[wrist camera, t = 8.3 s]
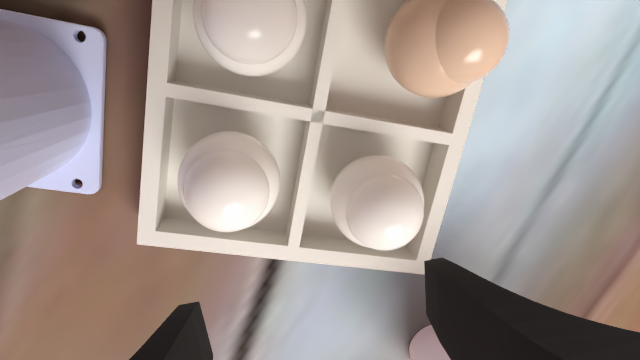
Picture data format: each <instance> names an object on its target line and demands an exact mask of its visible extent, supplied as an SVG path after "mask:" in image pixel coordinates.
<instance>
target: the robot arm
mask: <svg viewBox="0 0 640 360" xmlns="http://www.w3.org/2000/svg"><path fill="white" fill-rule="evenodd" d="M80 31H83V32H84V33H85V35H86V39H85V41H84V42H80V41H79V39H78V37H77V35H78V32H80ZM106 45H107V40H106V36H105V34H104V33H103V32H102V31H101V30H100V29H98V28H95V27H90V26H85V25H80V24H75V23H70V22H65V21H60V20H54V19H49V18H44V17H39V16H34V15H29V14H24V13H19V12H13V11H8V10H3V9H0V200H2V199H4V198H5V197H7V196H9V195H11V194H13V193H15V192H17V191H19V190H21V189H22V188H24V187H34V188H42V189H50V190H58V191H66V192H74V193H82V194H94V193H96V192H97V191H98V190H99V189H100V188H101V185H102V159H103V130H104V102H105V73H106ZM75 179H79V180H81V181H82V183H83V186H78V185H77V184H76V182H75ZM424 267H425V290H426V312H427V316H428V318H429V321H430V323H431V325H432V327H433V329H434V331H435V333H436V336H437V338H438V340H439V342H440V343H441V345H442V347H443V348H444V350H445V351H446V353H447V355H448V356H449V358H450V359H451V360H640V333H639V332H635V331H630V330H625V329H621V328H617V327H613V326H609V325H605V324H601V323H598V322H594V321H591V320H587V319H584V318H580V317H577V316H574V315H571V314H567V313H564V312H562V311H559V310H556V309H553V308H550V307H548V306H545V305H542V304H539V303H537V302H534V301H532V300H529V299H527V298H525V297H522V296H520V295H518V294H515V293H513V292H511V291H509V290H506V289H504V288H502V287H500V286H498V285H496V284H494V283H492V282H490V281H488V280H486V279H484V278H482V277H480V276H478V275H476V274H474V273H472V272H470V271H468V270H466V269H464V268H463V267H461V266H459V265H457V264H455V263H453V262H451V261H449V260H446V259H444V258H438V259H432V260H427V261H424ZM129 360H213V353H212V349H211V345H210V341H209V338H208V334H207V330H206V326H205V322H204V318H203V315H202V311H201V307H200V303H199V302H194V303H188V304H183V305H179V306H178V307H177V308H176V309H175V310H174V311H173V312H172V313H171V314H170V316H169V317H168V318H167V319H166V320H165V321H164V322H163V323H162V325H161V326H160V327H159V328H158V329H157V330H156V331H155V332H154V334H153V335H152V336H151V337H150V338H149V339H148V340H147V341H146V342H145V344H144V345H143V346H142V347H141V348H140V349H139V350H138V351H137V352H136V353H135V354H134V355H133V356H132V357H131V358H130V359H129Z"/></svg>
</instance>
